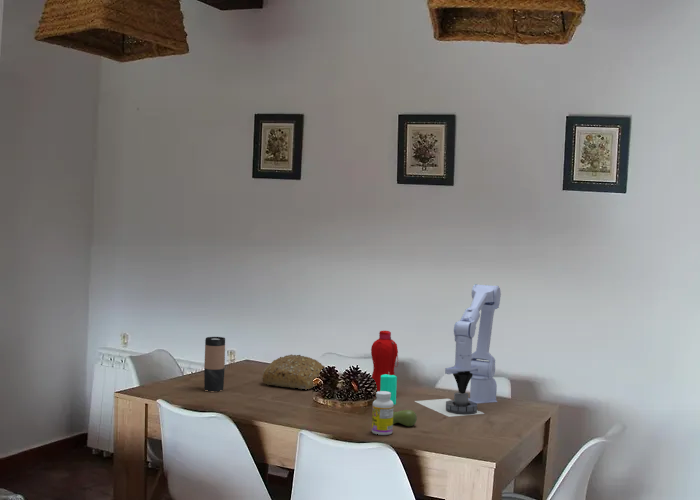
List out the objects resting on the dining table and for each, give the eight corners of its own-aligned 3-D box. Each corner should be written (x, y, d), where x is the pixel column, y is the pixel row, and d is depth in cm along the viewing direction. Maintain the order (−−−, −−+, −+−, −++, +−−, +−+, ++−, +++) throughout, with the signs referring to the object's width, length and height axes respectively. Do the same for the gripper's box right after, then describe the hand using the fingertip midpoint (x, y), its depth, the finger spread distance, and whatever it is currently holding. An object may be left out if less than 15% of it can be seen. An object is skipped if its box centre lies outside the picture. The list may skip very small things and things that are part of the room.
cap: (461, 405, 286) (461, 391, 285) (471, 408, 282) (471, 393, 281) (450, 407, 283) (451, 392, 282) (460, 410, 279) (461, 395, 278)
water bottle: (389, 400, 296) (392, 333, 295) (365, 395, 302) (368, 330, 301) (403, 396, 303) (405, 331, 302) (379, 392, 310) (382, 328, 309)
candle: (394, 406, 286) (395, 373, 286) (378, 405, 287) (379, 372, 287) (397, 403, 292) (398, 370, 292) (381, 401, 293) (382, 369, 293)
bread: (256, 386, 314) (257, 356, 313) (282, 377, 333) (283, 348, 333) (311, 393, 304) (312, 362, 303) (334, 383, 323) (335, 354, 323)
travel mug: (228, 390, 304) (229, 338, 303) (214, 393, 298) (216, 340, 297) (213, 387, 308) (214, 336, 307) (199, 390, 302) (200, 338, 301)
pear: (411, 411, 257) (383, 412, 261) (413, 428, 256) (385, 428, 261) (418, 408, 262) (391, 408, 266) (420, 424, 261) (393, 424, 266)
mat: (448, 399, 301) (448, 398, 301) (485, 414, 279) (485, 413, 279) (414, 402, 294) (414, 401, 294) (448, 417, 273) (448, 416, 273)
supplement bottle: (370, 429, 253) (371, 390, 253) (391, 430, 254) (392, 390, 254) (372, 435, 247) (374, 394, 246) (393, 435, 247) (395, 395, 247)
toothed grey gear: (465, 406, 289) (465, 399, 289) (483, 413, 279) (483, 405, 279) (439, 408, 285) (440, 401, 284) (456, 415, 275) (456, 408, 274)
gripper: (471, 351, 288) (470, 388, 289) (440, 354, 281) (438, 392, 281) (484, 354, 282) (483, 392, 283) (453, 357, 275) (451, 396, 275)
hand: (461, 392), depth 282 cm, fingers closed
